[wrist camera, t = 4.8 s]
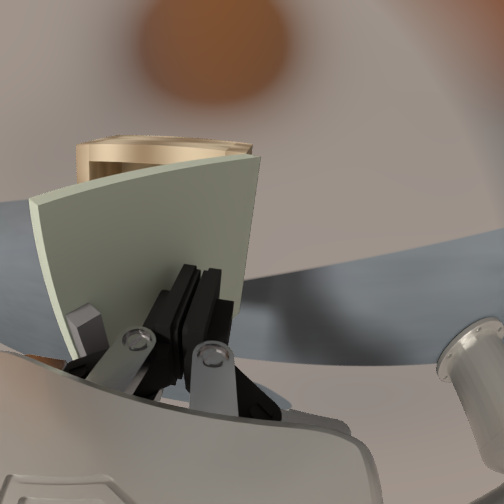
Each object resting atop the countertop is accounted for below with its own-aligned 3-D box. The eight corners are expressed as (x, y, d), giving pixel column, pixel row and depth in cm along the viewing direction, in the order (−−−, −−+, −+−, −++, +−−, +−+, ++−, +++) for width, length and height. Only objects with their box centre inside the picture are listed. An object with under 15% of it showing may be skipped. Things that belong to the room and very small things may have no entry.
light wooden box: (252, 144, 21) (245, 153, 16) (237, 265, 26) (228, 305, 21) (116, 135, 21) (76, 144, 16) (119, 246, 26) (89, 278, 21)
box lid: (245, 153, 16) (273, 159, 15) (227, 307, 21) (248, 317, 20) (28, 198, 6) (47, 212, 5) (98, 411, 11) (121, 433, 10)
